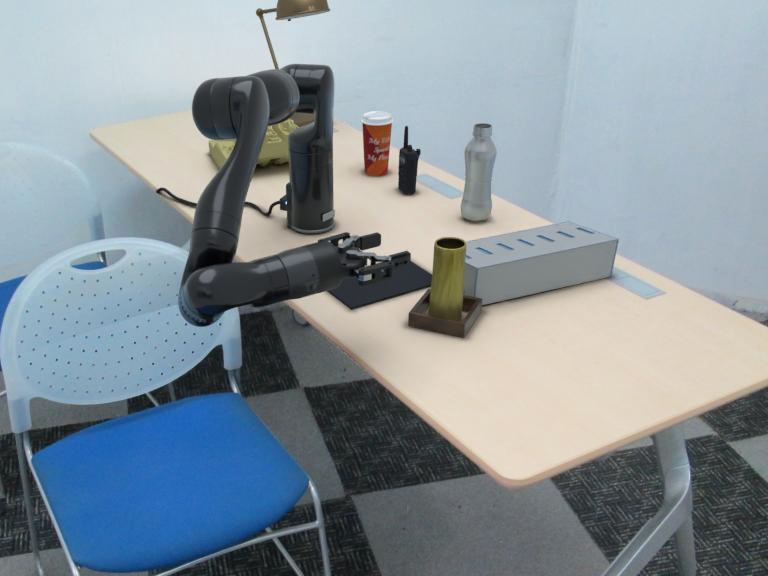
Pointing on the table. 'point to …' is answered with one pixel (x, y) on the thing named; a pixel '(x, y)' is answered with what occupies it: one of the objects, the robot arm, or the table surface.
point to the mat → (382, 287)
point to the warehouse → (536, 261)
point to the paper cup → (376, 142)
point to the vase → (448, 278)
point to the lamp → (290, 5)
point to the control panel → (271, 148)
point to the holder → (444, 324)
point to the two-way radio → (407, 166)
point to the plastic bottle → (478, 174)
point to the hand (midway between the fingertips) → (394, 247)
